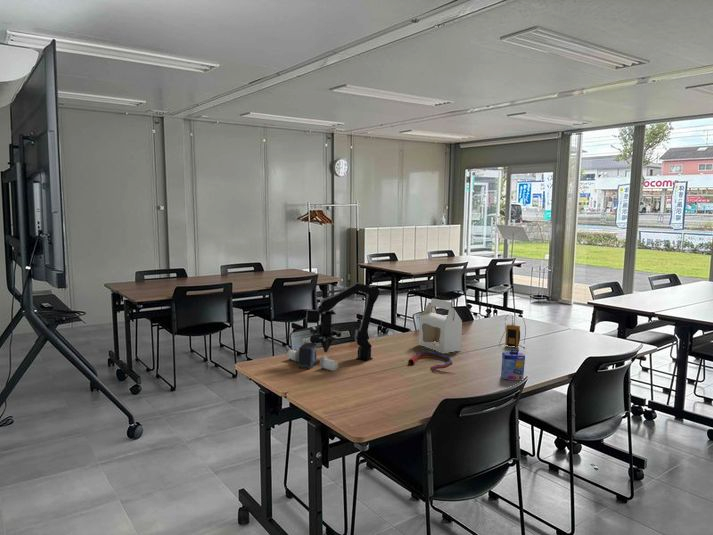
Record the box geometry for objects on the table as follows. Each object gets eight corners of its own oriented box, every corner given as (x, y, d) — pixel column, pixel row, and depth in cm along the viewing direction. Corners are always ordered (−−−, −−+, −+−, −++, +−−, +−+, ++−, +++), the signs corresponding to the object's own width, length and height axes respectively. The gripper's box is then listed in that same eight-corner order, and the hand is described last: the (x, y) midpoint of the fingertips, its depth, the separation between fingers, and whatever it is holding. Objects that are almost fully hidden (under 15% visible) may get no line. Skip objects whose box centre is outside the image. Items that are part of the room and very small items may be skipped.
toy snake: (475, 370, 262) (475, 360, 262) (449, 376, 247) (449, 366, 246) (426, 357, 284) (427, 348, 284) (399, 363, 269) (400, 353, 269)
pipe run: (338, 369, 254) (338, 357, 254) (330, 372, 250) (330, 360, 249) (294, 357, 273) (294, 346, 272) (286, 360, 268) (286, 349, 267)
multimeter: (528, 346, 307) (530, 313, 305) (523, 349, 299) (525, 315, 297) (503, 342, 315) (505, 310, 313) (498, 345, 307) (500, 312, 305)
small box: (310, 369, 253) (311, 348, 252) (298, 368, 255) (298, 347, 254) (317, 363, 264) (317, 343, 263) (304, 362, 265) (305, 342, 264)
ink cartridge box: (503, 380, 244) (504, 350, 242) (500, 376, 249) (501, 347, 248) (524, 380, 243) (526, 350, 242) (520, 377, 249) (522, 347, 247)
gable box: (461, 351, 293) (463, 302, 290) (443, 354, 286) (446, 304, 283) (435, 342, 312) (436, 296, 309) (418, 345, 305) (419, 298, 301)
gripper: (326, 317, 280) (325, 346, 282) (302, 323, 265) (302, 353, 267) (342, 320, 273) (341, 349, 275) (318, 326, 258) (318, 357, 260)
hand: (325, 352), depth 269 cm, fingers closed
